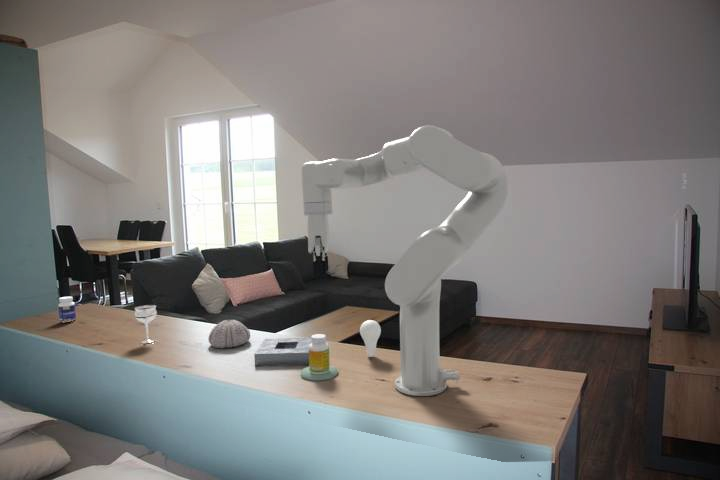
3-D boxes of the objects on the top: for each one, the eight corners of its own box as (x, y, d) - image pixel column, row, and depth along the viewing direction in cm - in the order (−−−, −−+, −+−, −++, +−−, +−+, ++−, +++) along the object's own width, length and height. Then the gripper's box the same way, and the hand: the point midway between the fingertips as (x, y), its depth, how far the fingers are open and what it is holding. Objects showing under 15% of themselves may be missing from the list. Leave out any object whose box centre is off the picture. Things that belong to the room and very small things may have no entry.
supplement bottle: (326, 375, 126) (325, 339, 125) (306, 374, 127) (305, 338, 126) (332, 368, 131) (331, 333, 130) (313, 367, 132) (312, 332, 131)
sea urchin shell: (199, 348, 154) (198, 323, 153) (228, 336, 166) (226, 313, 166) (232, 353, 149) (231, 327, 148) (259, 340, 161) (258, 316, 160)
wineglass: (159, 343, 160) (156, 308, 159) (137, 346, 158) (134, 310, 156) (158, 338, 167) (155, 304, 165) (136, 341, 164) (134, 306, 162)
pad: (339, 366, 134) (338, 364, 134) (336, 380, 124) (336, 378, 124) (303, 367, 134) (303, 365, 134) (298, 381, 124) (298, 379, 124)
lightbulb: (385, 355, 142) (384, 318, 141) (375, 362, 137) (374, 324, 136) (367, 352, 145) (366, 316, 144) (356, 358, 140) (355, 321, 139)
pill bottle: (64, 324, 189) (62, 299, 188) (56, 322, 192) (54, 298, 191) (79, 320, 194) (77, 296, 193) (71, 319, 197) (69, 295, 196)
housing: (316, 348, 150) (315, 337, 150) (311, 364, 136) (310, 352, 136) (265, 349, 150) (264, 338, 150) (254, 365, 136) (254, 353, 136)
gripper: (306, 209, 135) (310, 269, 137) (300, 210, 118) (304, 279, 120) (333, 207, 135) (336, 268, 137) (330, 209, 118) (334, 278, 120)
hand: (321, 273), depth 128 cm, fingers open, 9 cm apart
